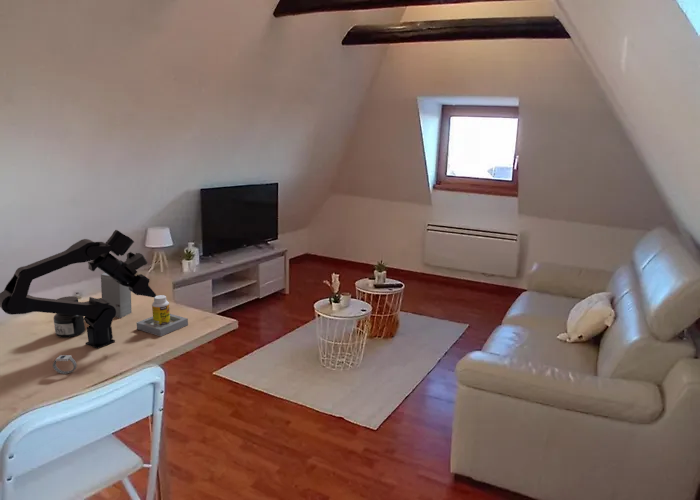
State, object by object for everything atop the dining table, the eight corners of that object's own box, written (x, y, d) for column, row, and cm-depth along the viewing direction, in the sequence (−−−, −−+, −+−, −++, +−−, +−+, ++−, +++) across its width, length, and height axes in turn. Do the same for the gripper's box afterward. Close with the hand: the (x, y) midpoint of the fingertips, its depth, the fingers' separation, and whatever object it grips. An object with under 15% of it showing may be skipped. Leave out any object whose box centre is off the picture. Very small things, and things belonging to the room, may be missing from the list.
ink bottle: (49, 334, 178) (44, 301, 175) (73, 326, 186) (69, 293, 183) (67, 340, 174) (63, 306, 171) (91, 331, 182) (87, 298, 179)
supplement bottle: (161, 328, 182) (158, 300, 179) (150, 325, 185) (147, 297, 182) (174, 323, 186) (171, 296, 184) (163, 320, 189) (161, 293, 187)
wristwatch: (79, 370, 154) (77, 354, 152) (74, 375, 151) (72, 359, 150) (57, 371, 153) (55, 355, 152) (52, 375, 151) (50, 359, 149)
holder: (160, 336, 178) (160, 329, 177) (136, 329, 184) (136, 322, 183) (188, 324, 188) (187, 318, 187) (164, 318, 194) (164, 312, 193)
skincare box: (102, 316, 196) (97, 274, 192) (115, 309, 202) (111, 269, 198) (121, 318, 193) (117, 276, 189) (134, 312, 200) (130, 271, 196)
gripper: (140, 252, 166) (176, 279, 176) (119, 241, 179) (153, 267, 189) (117, 281, 163) (155, 307, 173) (97, 268, 176) (133, 293, 186)
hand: (149, 292), depth 180 cm, fingers open, 9 cm apart
